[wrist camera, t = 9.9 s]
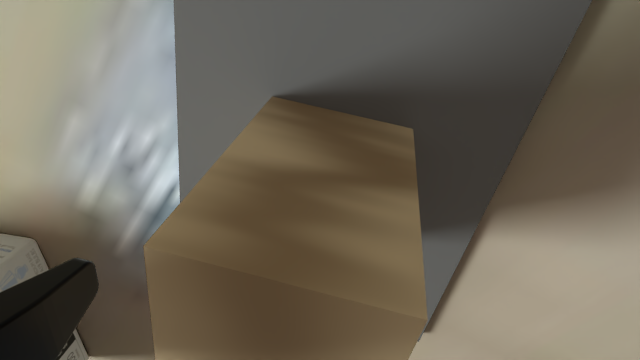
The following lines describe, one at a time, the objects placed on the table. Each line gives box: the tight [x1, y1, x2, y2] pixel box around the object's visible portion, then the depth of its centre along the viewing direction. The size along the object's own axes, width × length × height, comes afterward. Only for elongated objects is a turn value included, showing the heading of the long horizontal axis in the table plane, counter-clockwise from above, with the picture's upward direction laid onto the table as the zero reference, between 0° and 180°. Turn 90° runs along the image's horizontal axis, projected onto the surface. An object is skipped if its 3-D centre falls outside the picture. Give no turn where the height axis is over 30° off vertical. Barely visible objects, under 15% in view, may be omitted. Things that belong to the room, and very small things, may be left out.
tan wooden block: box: [143, 96, 428, 360], centre depth 11 cm, size 5×5×8 cm
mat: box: [174, 0, 592, 342], centre depth 15 cm, size 12×16×1 cm
